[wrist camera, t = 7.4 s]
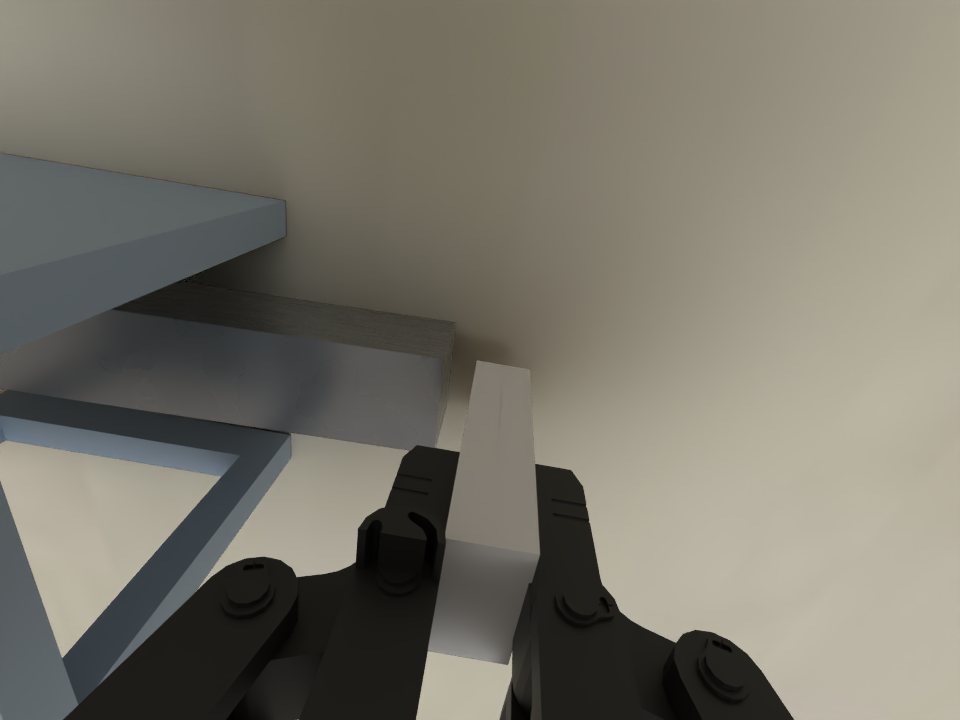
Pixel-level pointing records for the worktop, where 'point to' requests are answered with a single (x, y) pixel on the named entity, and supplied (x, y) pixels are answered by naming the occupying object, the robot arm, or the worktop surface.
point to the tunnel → (111, 429)
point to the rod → (252, 364)
